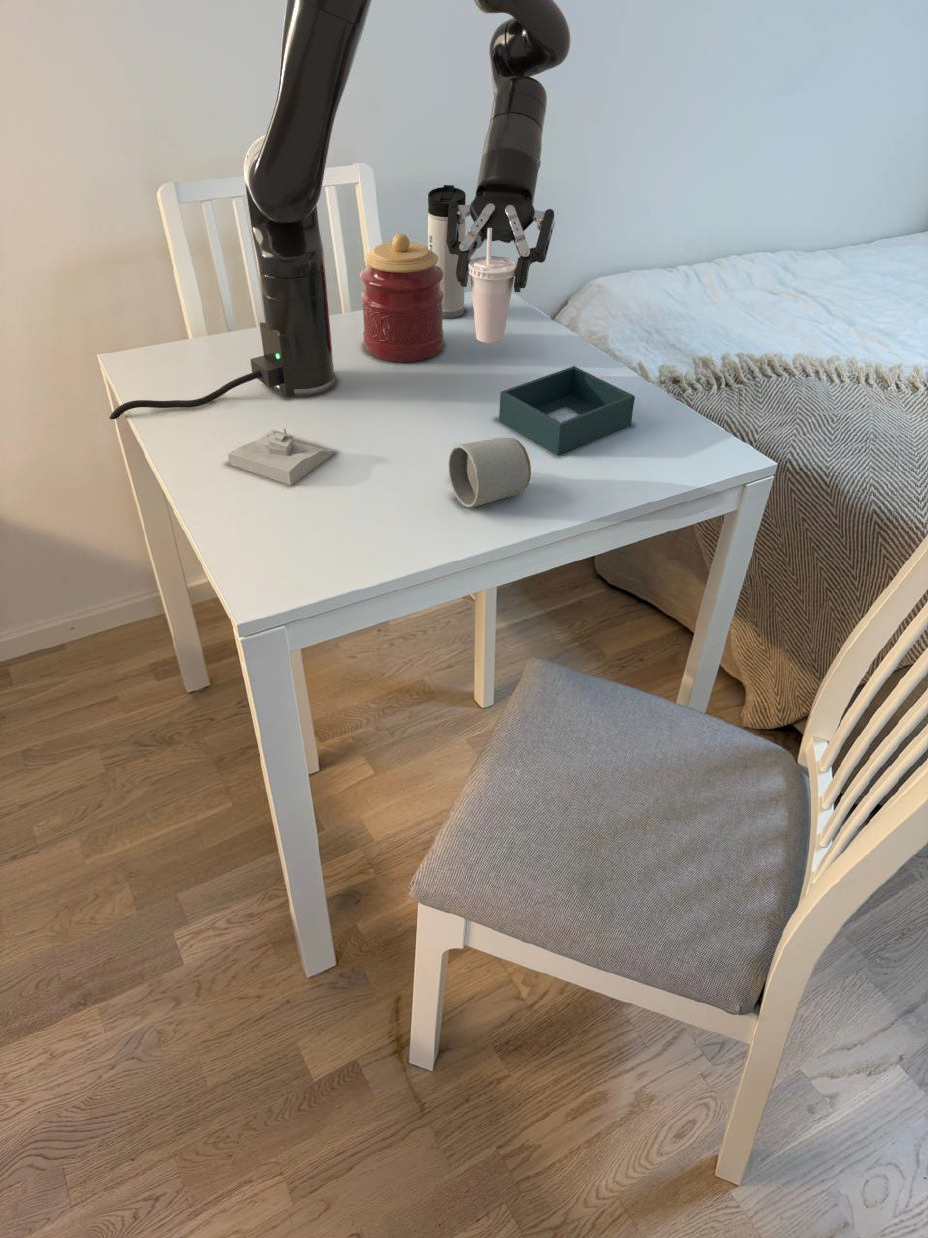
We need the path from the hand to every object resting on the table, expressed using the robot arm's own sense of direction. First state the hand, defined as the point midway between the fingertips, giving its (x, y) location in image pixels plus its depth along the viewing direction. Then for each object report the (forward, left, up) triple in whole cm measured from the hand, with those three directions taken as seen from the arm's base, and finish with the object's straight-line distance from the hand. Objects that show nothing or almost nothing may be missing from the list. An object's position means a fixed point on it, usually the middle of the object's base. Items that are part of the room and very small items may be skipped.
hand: (490, 286), depth 113 cm
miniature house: (-28, +8, -19) cm, 35 cm away
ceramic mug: (-12, -14, -19) cm, 27 cm away
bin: (+9, -7, -19) cm, 22 cm away
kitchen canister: (+6, +28, -19) cm, 34 cm away
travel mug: (+21, +36, -19) cm, 46 cm away
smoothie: (+1, +1, -8) cm, 8 cm away
